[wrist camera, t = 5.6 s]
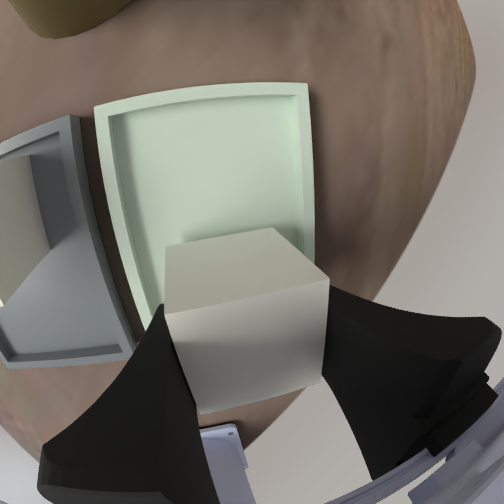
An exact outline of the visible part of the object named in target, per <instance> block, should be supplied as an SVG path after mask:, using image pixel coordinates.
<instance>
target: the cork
mask: <svg viewBox="0 0 504 504" xmlns="http://www.w3.org/2000/svg"><path fill="white" fill-rule="evenodd" d="M8 1H9V2H10V3H11V5H12V6H13V7H14V9H15V10H16V11H17V13H18V14H19V15H20V17H21V18H22V19H23V20H24V22H25V23H26V24H27V26H28V27H29V28H30V29H31V30H32V31H33V32H35V33H36V34H37V35H39V36H40V37H45V38H53V39H58V38H63V37H69V36H74V35H77V34H79V33H82V32H84V31H87V30H89V29H92V28H94V27H96V26H97V25H99V24H101V23H102V22H104V21H106V20H107V19H109V18H111V17H112V16H114V15H115V14H116V13H118V12H119V11H120V10H121V9H122V8H123V7H125V6H126V5H127V4H128V3H129V2H131V0H8Z"/></svg>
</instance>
